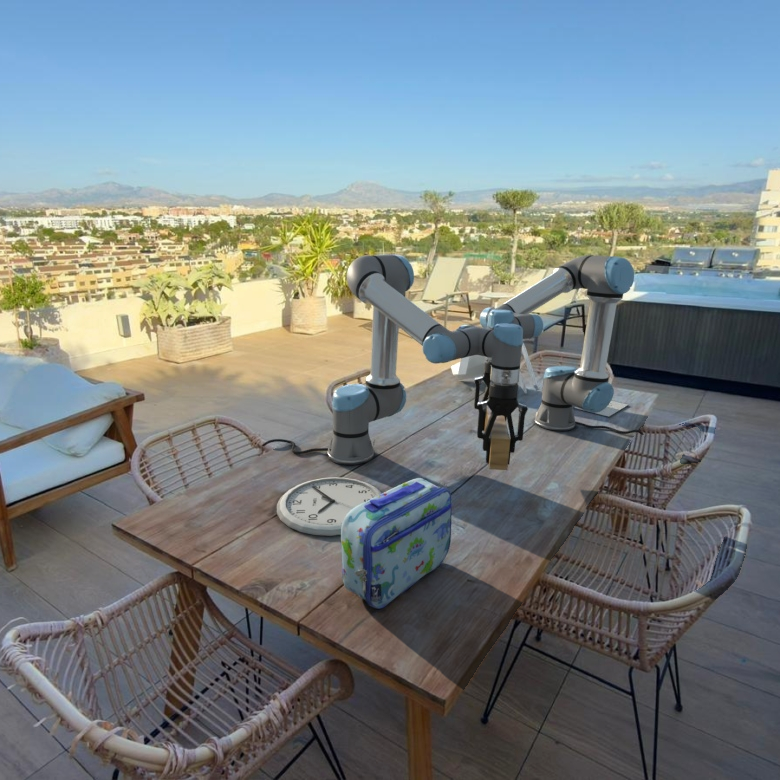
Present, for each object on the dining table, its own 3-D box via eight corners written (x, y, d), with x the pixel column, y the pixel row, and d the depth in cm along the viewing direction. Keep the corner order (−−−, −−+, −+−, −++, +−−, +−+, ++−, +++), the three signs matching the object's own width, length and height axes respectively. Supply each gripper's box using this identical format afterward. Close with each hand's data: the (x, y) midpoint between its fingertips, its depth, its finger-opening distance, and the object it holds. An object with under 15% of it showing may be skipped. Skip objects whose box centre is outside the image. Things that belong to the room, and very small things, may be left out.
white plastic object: (472, 423, 260) (450, 400, 235) (454, 348, 282) (432, 320, 258) (544, 398, 248) (529, 371, 223) (519, 323, 270) (503, 291, 245)
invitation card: (608, 416, 214) (573, 407, 224) (608, 416, 214) (573, 408, 224) (628, 404, 229) (594, 396, 238) (628, 405, 229) (594, 397, 238)
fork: (423, 514, 139) (423, 507, 138) (438, 487, 153) (439, 481, 152) (432, 516, 138) (433, 509, 137) (447, 489, 152) (448, 483, 152)
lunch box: (370, 622, 101) (370, 527, 94) (335, 595, 108) (333, 505, 102) (455, 565, 118) (460, 481, 112) (420, 544, 125) (423, 465, 119)
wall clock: (392, 527, 129) (268, 531, 127) (391, 533, 130) (269, 537, 127) (383, 473, 158) (282, 475, 155) (383, 478, 158) (282, 480, 156)
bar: (483, 426, 174) (485, 400, 171) (498, 427, 173) (500, 401, 171) (489, 469, 143) (491, 438, 140) (507, 470, 143) (510, 439, 140)
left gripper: (470, 384, 137) (465, 465, 144) (540, 388, 135) (531, 469, 142) (470, 376, 144) (464, 454, 151) (536, 380, 142) (528, 458, 149)
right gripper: (468, 361, 160) (464, 432, 167) (528, 364, 158) (521, 435, 165) (468, 356, 167) (463, 424, 174) (525, 358, 165) (518, 427, 172)
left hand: (497, 461), depth 147 cm, fingers closed on bar, 5 cm apart
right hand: (491, 429), depth 170 cm, fingers closed on bar, 5 cm apart
